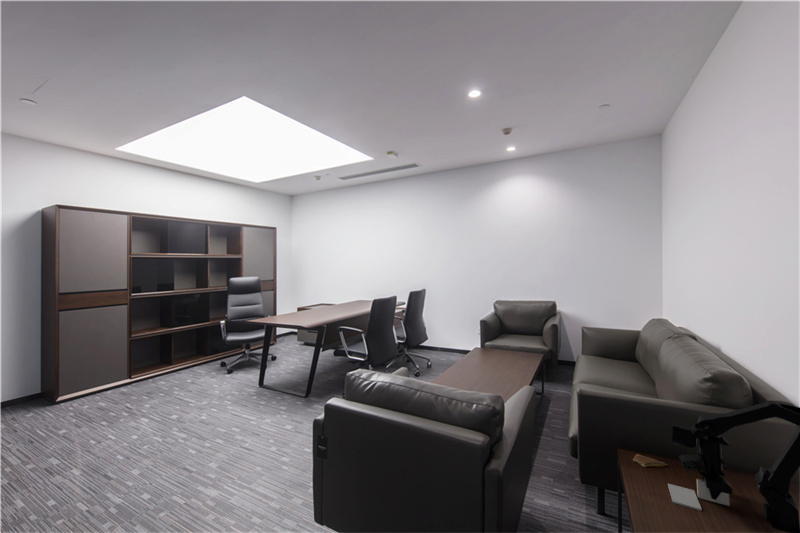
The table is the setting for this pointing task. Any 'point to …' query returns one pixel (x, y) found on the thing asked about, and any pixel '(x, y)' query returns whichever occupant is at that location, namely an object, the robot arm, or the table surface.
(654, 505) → the table surface
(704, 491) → the card
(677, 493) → the mat
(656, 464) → the shard
